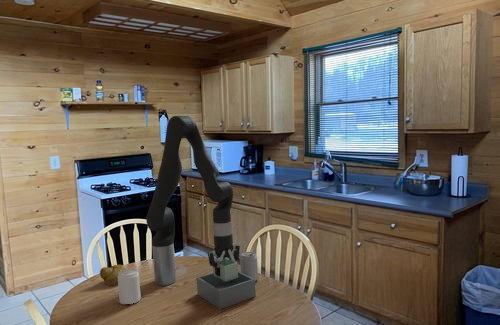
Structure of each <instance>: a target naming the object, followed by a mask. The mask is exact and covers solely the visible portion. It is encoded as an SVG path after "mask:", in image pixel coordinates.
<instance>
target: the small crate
mask: <svg viewBox="0 0 500 325" xmlns="http://www.w3.org/2000/svg"><path fill="white" fill-rule="evenodd" d="M219 267H220V276H219V277H218V276H217V275H216V274H215V267H212V273H213V274H214V276H216V277H218V278H219V279H221V280H223V281H225V282H226V281H229V280H233V279H236V278H238V271H239V269H238V267H239V266H238V262H237V261H235V262H234V261H232V260H229V258H224V259H222V262H221V263H220V266H219Z"/></svg>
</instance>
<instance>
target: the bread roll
mask: <svg viewBox="0 0 500 325" xmlns="http://www.w3.org/2000/svg"><path fill="white" fill-rule="evenodd" d="M123 270H127V268H126V267H125V266H124V265H123V264H114V265H112V266H110V267H105V266H104V267H102V268H100V270H99V275H100V278H101V279H103V282H104V283H105V284H106V285H107V284H110V285H109V286H115V285H114V284H116V285H118V275H119V272H121V271H123Z"/></svg>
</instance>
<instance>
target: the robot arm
mask: <svg viewBox="0 0 500 325" xmlns="http://www.w3.org/2000/svg"><path fill="white" fill-rule="evenodd" d="M182 139H185V140H187V142H188V143H189V145H190V146H191V149H192V153H193V162H194V165H195V168H196V170H197V172H198V173H199V175H200V177H201V179H202V181H203V185H204V190H205V193H206V195H207V197H208V198H209V200H210V201H212V202H214V203H217V205H216V206H215V207H214V208H213V209H212V220H213V221H212V232H213V234H212V235H213V245H214V249H213V250H212V251H207V257H208V258H207V259H208V263H209V266H210V267H212V268H213V267H215V274H216V275H217V276H218V277H219V276H220V267H219V266H220V263H221V262H222V259H224V258H228V259H229V260H232V261H234V262H237V261H240V248H241V247H240V245H238V244H236V243H235V244H233V243H234V240H233V236H234V235H233V225H232V214H231V213H232V212H231V211H232V210H231V209H232V206H233V205H232V204H233V199H234V190H233V186H232V185H231V184H230V183H229V182H227V181H222V182H218V181H217V178H218V177H219V176H220V171H219V170H218V168H217V166H216V164H215V163H214V161H213V159H212V157H211V155H210V154H209V152H208V150H207V148H206V145H205V142H204V140H203V138H202V135H201V133H200V130H199V127H198V125H197V122H196V120H194V118H193V117H192V116H188V115H174V116H171V118H169V120H168V122H167V126H166V132H165V138H164V147H163V151H162V152H163V154H162V158H161V161H160V166H159V170H158V174H157V180H156V183H155V184H156V185H155V189H154V192H153V196H152V200H151V202H150V205H149V208H148V211H147V214H146V225H147V226H146V227H147V228H148V229H149V231H152V232H156V233H155V235H154V236H153V237H152V239H151V245H152V247H151V248H152V249H151V250H152V261H153V272H154V273H153V275H154V284H155V285H156V286H169V285H172V284H174V283H175V282H176V281H177V278H176V276H177V275H176V262H175V261H176V259H175V248H174V246H175V245H174V239H175V236H176V231H175V230H176V229H175V228H176V226H175V224H176V223H175V221H176V220H175V215H174V211H173V210H172V208H170V207H168V206H167V205H168V203H169V201H170V200H171V198H172V196H173V195H174V193H175V192H176V190H177V189H178V186H179V183H180V179H181V177H182V173H183V166H182V161H181V158H180V147H181V146H180V145H181V142H182Z"/></svg>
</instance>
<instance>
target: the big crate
mask: <svg viewBox="0 0 500 325" xmlns="http://www.w3.org/2000/svg"><path fill="white" fill-rule="evenodd" d="M196 291H197V292H196V293H197V295H198V296H200V297H201V298H202V299H204V300H206V301H207V302H209V303H210V304H212V305H213V306H214V307H216V308H217V309H219V310H222V309H224V308H227V307H230V306H233V305H235V304H238V303H241V302H244V301H247V300H249V299H251V298H255V297H256V296H257V295H256V281H255V279H253V278H251V277H249V276H247V275H245V274H243V273H241V271H239V270H238V278H236V279H233V280H229V281H226V282H225V281H223V280H221V279H219V278H218V277H216V276H214V274H213V272H210V273H207V274H203V275H200V276H197V277H196Z"/></svg>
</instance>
